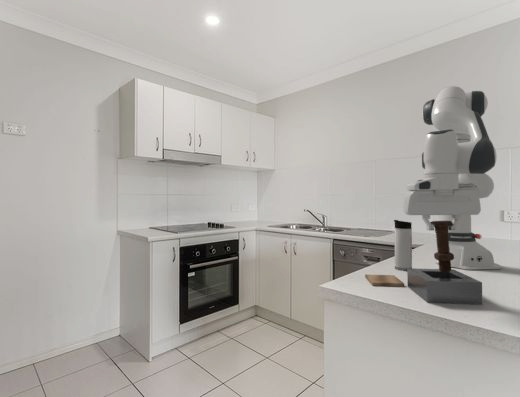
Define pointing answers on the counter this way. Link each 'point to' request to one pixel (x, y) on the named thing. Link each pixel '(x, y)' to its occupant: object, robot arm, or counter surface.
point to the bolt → (443, 245)
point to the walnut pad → (384, 280)
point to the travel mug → (403, 245)
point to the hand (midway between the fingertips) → (441, 230)
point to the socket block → (444, 286)
